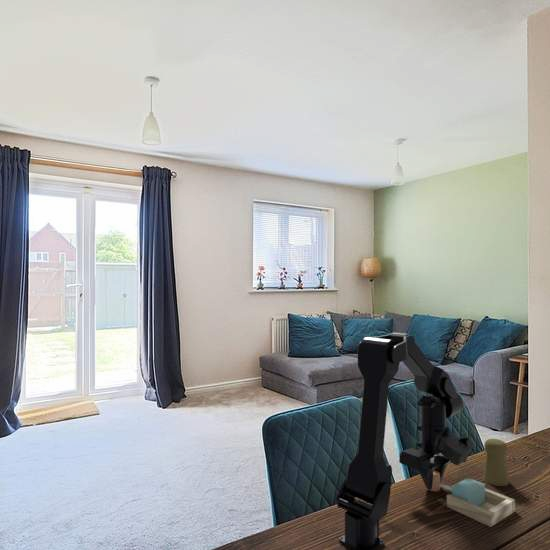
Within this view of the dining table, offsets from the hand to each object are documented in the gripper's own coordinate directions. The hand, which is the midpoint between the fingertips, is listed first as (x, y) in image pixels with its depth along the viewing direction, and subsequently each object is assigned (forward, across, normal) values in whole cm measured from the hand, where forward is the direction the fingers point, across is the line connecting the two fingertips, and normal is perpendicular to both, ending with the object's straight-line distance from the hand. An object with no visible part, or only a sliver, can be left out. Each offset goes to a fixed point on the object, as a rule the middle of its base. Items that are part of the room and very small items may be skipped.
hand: (433, 487), depth 109 cm
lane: (+1, 0, -12) cm, 12 cm away
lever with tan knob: (+1, 0, -5) cm, 5 cm away
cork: (+2, +16, -7) cm, 17 cm away
